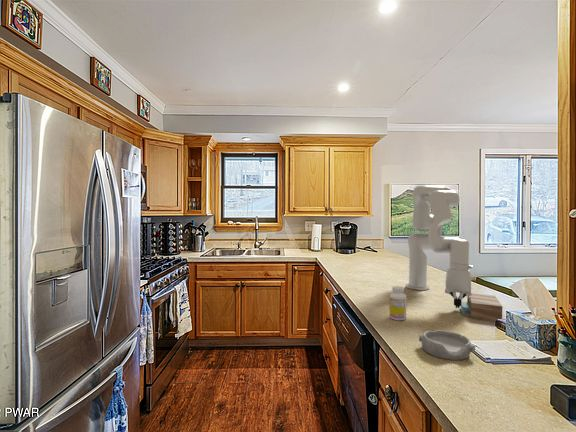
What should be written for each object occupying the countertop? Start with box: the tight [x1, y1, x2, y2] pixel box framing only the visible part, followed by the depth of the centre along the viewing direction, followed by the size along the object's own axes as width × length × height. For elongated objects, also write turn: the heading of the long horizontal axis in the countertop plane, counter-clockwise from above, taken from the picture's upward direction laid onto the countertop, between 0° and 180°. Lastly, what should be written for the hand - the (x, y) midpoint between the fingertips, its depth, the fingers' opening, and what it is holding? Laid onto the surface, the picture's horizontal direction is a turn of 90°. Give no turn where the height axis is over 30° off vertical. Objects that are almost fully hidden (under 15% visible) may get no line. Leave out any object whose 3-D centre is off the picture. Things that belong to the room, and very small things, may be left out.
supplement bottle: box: [389, 285, 407, 321], centre depth 135 cm, size 7×7×13 cm
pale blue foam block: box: [460, 301, 471, 315], centre depth 143 cm, size 9×12×3 cm
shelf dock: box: [464, 292, 503, 322], centre depth 142 cm, size 18×13×6 cm
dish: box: [418, 329, 476, 361], centre depth 104 cm, size 14×14×5 cm
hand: (457, 307), depth 146 cm, fingers closed
